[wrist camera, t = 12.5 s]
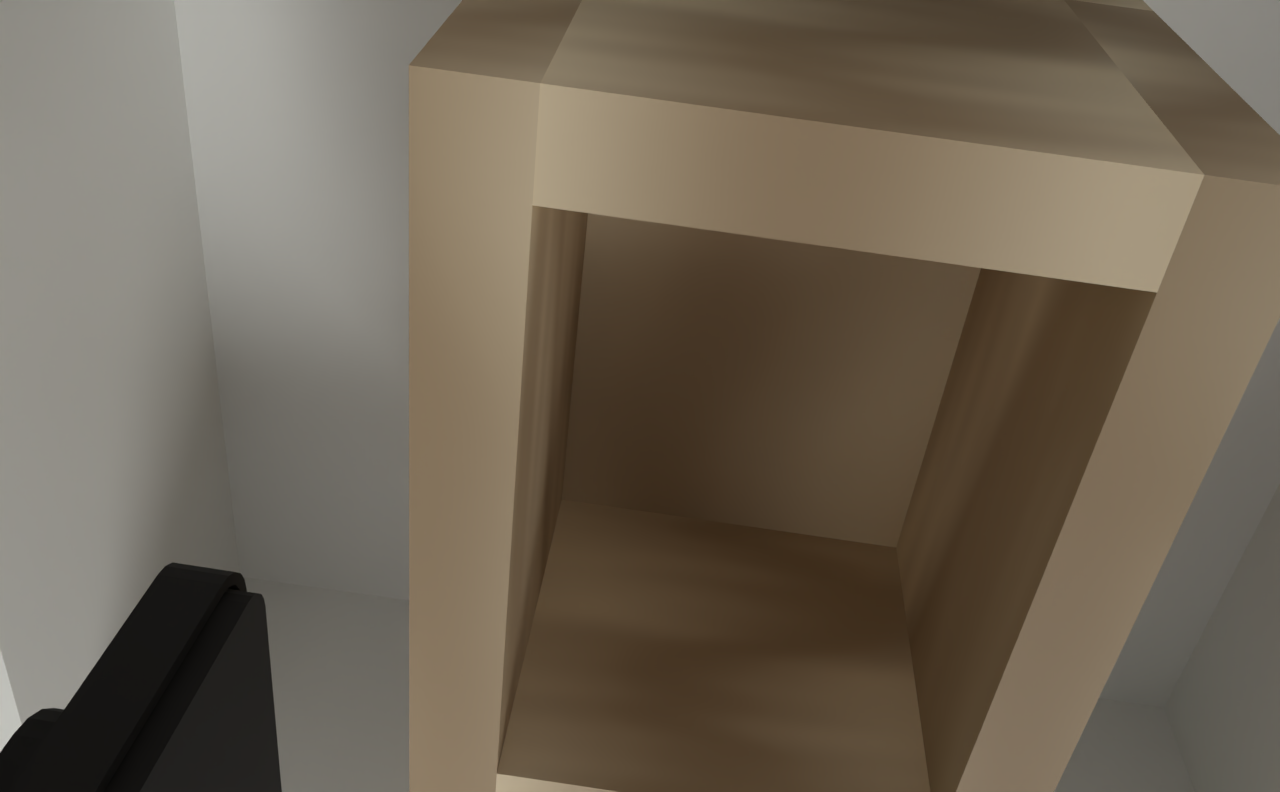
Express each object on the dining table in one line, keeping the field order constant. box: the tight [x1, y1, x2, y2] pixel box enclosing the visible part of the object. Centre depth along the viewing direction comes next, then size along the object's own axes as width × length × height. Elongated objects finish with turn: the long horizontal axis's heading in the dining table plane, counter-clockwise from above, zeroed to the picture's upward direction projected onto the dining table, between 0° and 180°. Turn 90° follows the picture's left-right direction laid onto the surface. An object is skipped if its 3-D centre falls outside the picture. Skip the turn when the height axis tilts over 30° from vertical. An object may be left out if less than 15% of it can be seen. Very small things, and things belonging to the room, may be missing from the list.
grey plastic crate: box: [0, 0, 1280, 792], centre depth 14 cm, size 18×16×7 cm
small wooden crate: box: [409, 0, 1280, 792], centre depth 14 cm, size 7×9×6 cm
